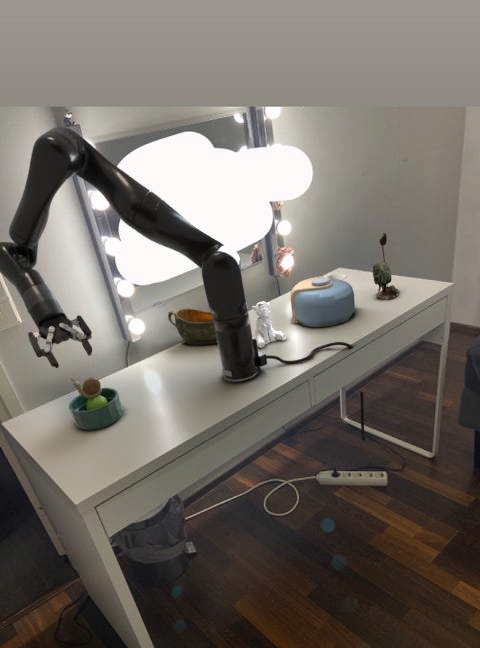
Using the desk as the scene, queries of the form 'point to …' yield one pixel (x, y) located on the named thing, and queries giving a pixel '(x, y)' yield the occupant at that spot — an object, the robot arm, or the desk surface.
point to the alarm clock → (322, 302)
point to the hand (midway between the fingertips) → (74, 360)
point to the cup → (194, 326)
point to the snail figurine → (91, 393)
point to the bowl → (96, 411)
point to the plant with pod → (383, 276)
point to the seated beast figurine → (265, 326)
